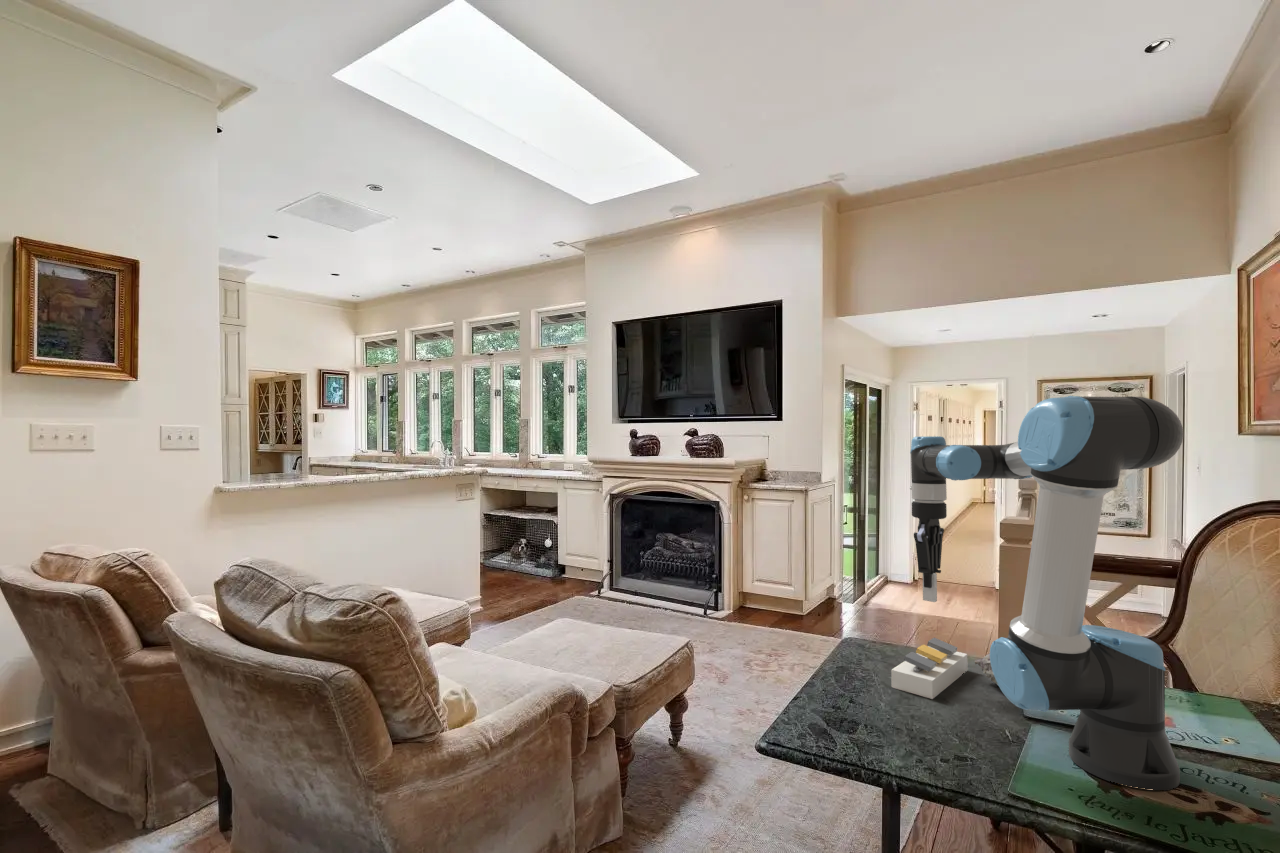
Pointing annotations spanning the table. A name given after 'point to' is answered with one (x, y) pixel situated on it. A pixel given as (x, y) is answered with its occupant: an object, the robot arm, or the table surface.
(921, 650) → the amber rocker
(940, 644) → the block
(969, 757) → the table surface
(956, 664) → the white rocker switch box
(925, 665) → the block
